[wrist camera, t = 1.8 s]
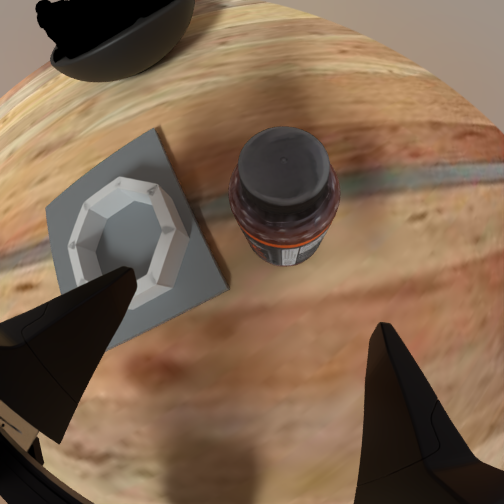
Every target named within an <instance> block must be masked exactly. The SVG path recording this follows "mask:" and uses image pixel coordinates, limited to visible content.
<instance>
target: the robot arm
mask: <svg viewBox="0 0 504 504" xmlns="http://www.w3.org/2000/svg"><path fill="white" fill-rule="evenodd" d="M136 290H137V280H136V276H135V272H134V269H133V268H131V267H128V266H121V267H119V268H117V269H115V270H113V271H111V272H108V273H106V274H104V275H102V276H100V277H98V278H95V279H93V280H91V281H89V282H87V283H85V284H83V285H81V286H79V287H77V288H74V289H72V290H70V291H68V292H66V293H64V294H62V295H60V296H58V297H56V298H54V299H52V300H50V301H48V302H46V303H44V304H42V305H40V306H38V307H36V308H34V309H32V310H29V311H27V312H25V313H22V314H20V315H18V316H15V317H13V318H11V319H8V320H6V321H4V322H1V323H0V495H1V497H2V498H3V499H4V500H5V501H6V502H7V503H8V504H94V503H92V502H91V501H89V500H88V499H86V498H85V497H83V496H82V495H80V494H79V493H77V492H76V491H74V490H73V489H71V488H70V487H69V486H67V485H66V484H64V483H63V482H62V481H60V480H59V479H58V478H57V477H55V476H54V475H53V474H51V473H50V472H49V471H48V470H46V469H45V468H44V467H43V464H44V460H43V456H42V452H41V447H40V442H39V438H38V437H37V435H38V433H39V431H40V432H41V433H43V434H44V435H46V436H47V437H49V438H50V439H52V440H53V441H55V442H56V443H58V444H60V443H61V441H62V439H63V437H64V434H65V432H66V430H67V427H68V425H69V423H70V421H71V419H72V416H73V414H74V412H75V410H76V408H77V406H78V403H79V401H80V399H81V397H82V395H83V393H84V391H85V389H86V387H87V385H88V383H89V381H90V379H91V377H92V375H93V373H94V371H95V369H96V368H97V366H98V364H99V362H100V360H101V358H102V356H103V355H104V353H105V351H106V349H107V347H108V345H109V344H110V342H111V340H112V338H113V336H114V335H115V333H116V331H117V329H118V328H119V326H120V324H121V322H122V320H123V318H124V316H125V314H126V312H127V310H128V307H129V305H130V303H131V301H132V299H133V297H134V295H135V293H136ZM437 399H438V398H437V396H436V394H435V392H434V391H433V389H432V387H431V386H430V384H429V382H428V381H427V379H426V377H425V376H424V374H423V372H422V371H421V369H420V368H419V366H418V364H417V363H416V361H415V360H414V358H413V356H412V355H411V353H410V352H409V350H408V349H407V347H406V346H405V344H404V342H403V341H402V339H401V338H400V336H399V335H398V333H397V332H396V330H395V329H394V327H393V326H392V325H391V324H390V323H385V322H379V323H378V325H377V327H376V328H375V330H374V332H373V334H372V336H371V338H370V341H369V349H368V359H367V368H366V377H365V398H364V421H363V435H362V447H361V457H360V466H359V474H358V481H357V486H358V487H356V493H355V499H354V504H504V471H503V470H500V469H498V468H495V467H493V466H490V465H488V464H486V463H483V462H482V461H480V460H479V459H478V458H476V457H475V456H474V454H473V453H472V452H471V450H470V449H469V447H468V446H467V444H466V442H465V441H464V439H463V438H462V436H461V435H460V433H459V432H458V430H457V429H456V427H455V426H454V424H453V423H452V421H451V420H450V418H449V416H448V415H447V413H446V411H445V410H444V408H443V406H442V404H441V403H440V401H439V400H437Z"/></svg>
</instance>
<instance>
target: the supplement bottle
mask: <svg viewBox="0 0 504 504" xmlns="http://www.w3.org/2000/svg"><path fill="white" fill-rule="evenodd" d="M228 192H229V194H228V195H229V202H230V206H231V210H232V212H233V214H234V216H235V219H236V220H237V222H238V225H239V226H240V228H241V230H242V231H243V233H244V235H245V236H246V239H247V240H248V242H249V244H250V246H251V248H252V249H253V251H254V252H255V253H256V254H257V255H258V256H259V257H261V258H262V259H263V260H265V261H266V262H268V263H270V264H273V265H276V266H294V265H298V264H300V263H302V262H304V261H305V260H307V259H308V258H309V257H311V256H312V255H313V254H314V252H315V251H316V250H317V248H318V247H319V245H320V243H321V241H322V239H323V237H324V236H325V234H326V232H327V230H328V228H329V226H330V225H331V223H332V221H333V219H334V217H335V215H336V212H337V210H338V206H339V201H340V185H339V180H338V177H337V174H336V172H335V170H334V168H333V167H332V165H331V164H330V161H329V157H328V154H327V151H326V150H325V148H324V146H323V145H322V143H321V142H320V141H318V140H317V138H315V137H314V136H313V135H311V134H310V133H308V132H306V131H303V130H301V129H298V128H294V127H283V126H282V127H273V128H269V129H266V130H264V131H261V132H259V133H258V134H256V135H255V136H253V137H252V138H251V139H250V140H249V141H248V142H247V143H246V144H245V146H244V147H243V149H242V150H241V153H240V155H239V160H238V164H237V166H236V167H235V169H234V171H233V173H232V176H231V179H230V183H229V191H228Z"/></svg>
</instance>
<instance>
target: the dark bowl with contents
mask: <svg viewBox="0 0 504 504" xmlns="http://www.w3.org/2000/svg"><path fill="white" fill-rule="evenodd" d="M194 4H195V0H69V1H68V0H65V1H64V0H60V1H57V2H54V3H51V2H50V1H48V0H41V1H39V2H38V3H37V4H36V8H35V9H36V12H37V14H38V15H37V21H38V23H39V26H40V27H41V28H43V29H44V30H45V31H46V33H47V35H48V37H49V38H50V39H52V40H53V41H54V42H55V43H56V47H55V48H54V50H53V52H52V54H51V58H50V62H51V64H52V66H53V67H54V68H56V69H57V70H58V71H60V72H61V73H63V74H65V75H66V76H69V77H71V78H74V79H77V80H81V81H87V82H109V81H115V80H120V79H123V78H127V77H130V76H133V75H135V74H137V73H139V72H141V71H143V70H145V69H147V68H149V67H151V66H152V65H154V64H155V63H157V62H158V61H159V60H161V59H162V58H163V57H164V56H165V55H166V54H168V53H169V52H170V51H171V50H172V49H173V48H174V46H175V45H176V44H177V43H178V42H179V40H180V39H181V37H182V36H183V34H184V33H185V31H186V29H187V27H188V25H189V23H190V20H191V18H192V14H193V10H194Z"/></svg>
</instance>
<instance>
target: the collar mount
mask: <svg viewBox="0 0 504 504" xmlns="http://www.w3.org/2000/svg"><path fill="white" fill-rule="evenodd" d="M45 209H46V217H47V225H48V232H49V239H50V245H51V251H52V256H53V261H54V266H55V271H56V275H57V280H58V284H59V288H60V292H61V295H62V294H64V293H66V292H68V291H70V290H72V289H74V288H77V287H79V286H81V285H83V284H85V283H87V282H89V281H91V280H93V279H95V278H98V277H100V276H102V275H104V274H106V273H108V272H111V271H113V270H115V269H117V268H119V267H121V266H128V267H131V268H133V269H134V272H135V276H136V280H137V290H136V293H135V295H134V297H133V299H132V301H131V303H130V305H129V307H128V310H127V312H126V314H125V316H124V318H123V320H122V322H121V324H120V326H119V328H118V329H117V331H116V333H115V335H114V336H113V338H112V340H111V342H110V344H109V345H108V347H107V349H106V351H108V350H110V349H112V348H114V347H116V346H118V345H120V344H122V343H124V342H126V341H128V340H130V339H132V338H135V337H137V336H139V335H141V334H143V333H145V332H147V331H149V330H151V329H153V328H155V327H157V326H159V325H161V324H163V323H165V322H167V321H169V320H171V319H173V318H175V317H177V316H179V315H181V314H183V313H185V312H186V311H188V310H190V309H192V308H194V307H196V306H198V305H200V304H202V303H204V302H206V301H208V300H210V299H212V298H214V297H216V296H218V295H220V294H221V293H223V292H225V291H227V290H229V287H228V285H227V283H226V281H225V279H224V277H223V274H222V272H221V270H220V268H219V266H218V264H217V262H216V260H215V258H214V256H213V254H212V252H211V250H210V248H209V246H208V244H207V242H206V239H205V237H204V235H203V233H202V231H201V229H200V227H199V225H198V223H197V220H196V218H195V216H194V214H193V212H192V210H191V208H190V205H189V203H188V201H187V199H186V197H185V194H184V192H183V190H182V188H181V186H180V183H179V181H178V179H177V177H176V175H175V172H174V170H173V168H172V165H171V163H170V161H169V159H168V156H167V154H166V152H165V149H164V147H163V145H162V143H161V140H160V138H159V135H158V133H157V132H156V130H155V129H154V128H152V129H151V130H149V131H147V132H146V133H144V134H143V135H141V136H139V137H138V138H136V139H135V140H133V141H132V142H130V143H128V144H127V145H125V146H124V147H122V148H121V149H119V150H118V151H116V152H115V153H114V154H112V155H111V156H109V157H108V158H106V159H105V160H104V161H102V162H101V163H99V164H98V165H97V166H95V167H94V168H93V169H91V170H90V171H89V172H87V173H86V174H85V175H84V176H82V177H81V178H80V179H78V180H77V181H76V182H75V183H73V184H72V185H71V186H70V187H69V188H67V189H66V190H65V191H64V192H63V193H61V194H60V195H59V196H58V197H57V198H56V199H54V200H53V201H52V202H51V203H50V204H49V205H48V206H47V207H46V208H45ZM106 351H105V352H106Z"/></svg>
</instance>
